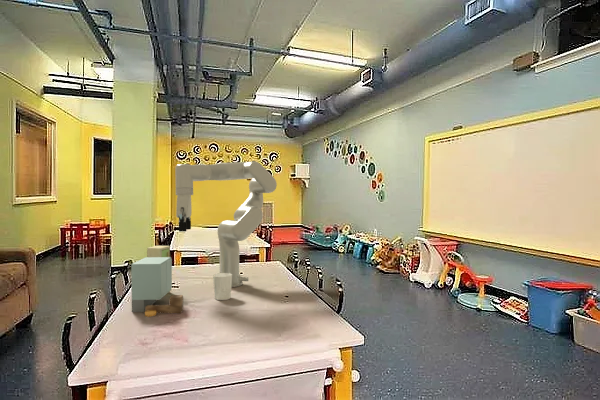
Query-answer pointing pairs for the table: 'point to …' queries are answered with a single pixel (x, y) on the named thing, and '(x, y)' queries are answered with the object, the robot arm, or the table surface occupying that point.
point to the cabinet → (150, 281)
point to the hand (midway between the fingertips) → (185, 230)
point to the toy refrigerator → (158, 251)
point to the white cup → (222, 286)
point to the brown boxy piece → (174, 306)
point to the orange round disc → (150, 313)
